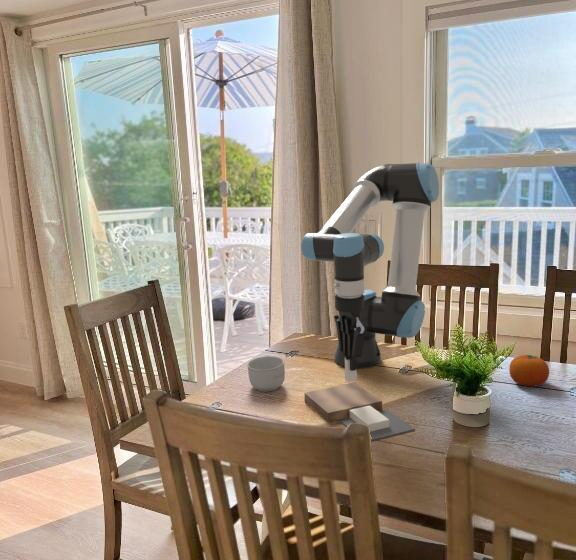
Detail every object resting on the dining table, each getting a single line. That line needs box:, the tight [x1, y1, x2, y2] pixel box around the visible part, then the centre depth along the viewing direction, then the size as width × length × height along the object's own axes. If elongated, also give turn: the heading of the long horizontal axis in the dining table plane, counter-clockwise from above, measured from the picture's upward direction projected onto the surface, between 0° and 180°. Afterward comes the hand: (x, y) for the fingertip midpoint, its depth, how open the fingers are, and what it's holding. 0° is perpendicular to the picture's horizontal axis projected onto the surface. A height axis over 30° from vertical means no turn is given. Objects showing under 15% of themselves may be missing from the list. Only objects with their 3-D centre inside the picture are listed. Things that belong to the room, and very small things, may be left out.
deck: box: [303, 382, 383, 423], centre depth 150 cm, size 16×14×2 cm
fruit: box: [508, 354, 550, 387], centre depth 160 cm, size 11×10×8 cm
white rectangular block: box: [349, 406, 389, 432], centre depth 139 cm, size 6×9×2 cm, turn 23°
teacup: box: [246, 354, 286, 393], centre depth 164 cm, size 14×11×8 cm
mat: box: [339, 409, 416, 442], centre depth 138 cm, size 14×12×1 cm
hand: (351, 380), depth 148 cm, fingers closed
